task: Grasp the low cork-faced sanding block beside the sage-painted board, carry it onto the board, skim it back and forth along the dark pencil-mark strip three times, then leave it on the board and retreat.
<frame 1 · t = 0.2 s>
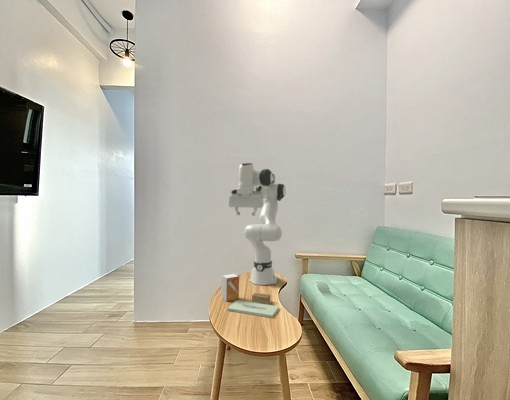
hand: (245, 215, 169), 47 cm above the table, fingers open, 8 cm apart
small box: (230, 298, 167), on the table
board: (253, 309, 152), on the table
sanding block: (261, 302, 163), on the table
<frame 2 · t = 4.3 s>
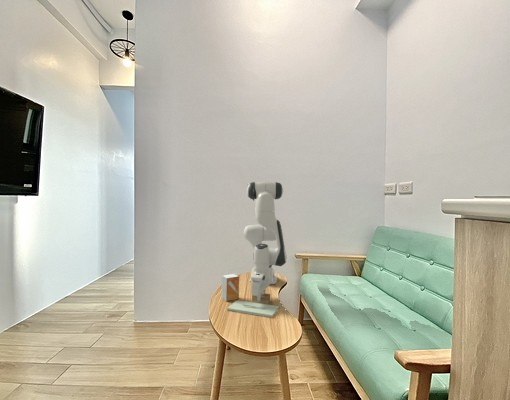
hand: (261, 298, 163), 2 cm above the table, fingers closed on sanding block, 5 cm apart
sanding block: (261, 301, 163), on the table, touching gripper
everything else where it was.
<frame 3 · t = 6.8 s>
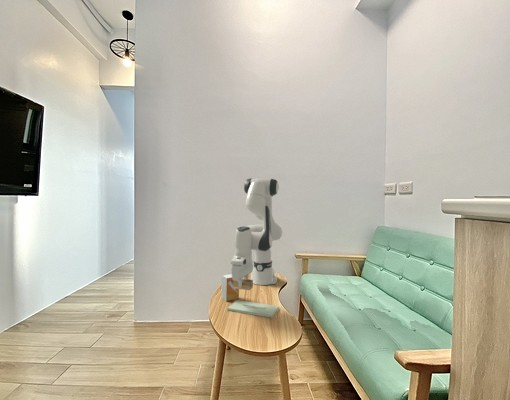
hand: (242, 284, 153), 12 cm above the table, fingers closed on sanding block, 5 cm apart
sanding block: (243, 287, 153), point 11 cm above the table, touching gripper
everything else where it was.
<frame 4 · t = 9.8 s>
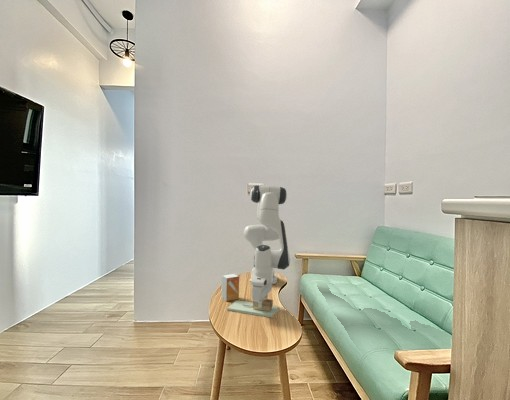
hand: (262, 304, 150), 3 cm above the table, fingers closed on sanding block, 5 cm apart
sanding block: (262, 308, 150), point 2 cm above the table, touching gripper
everything else where it was.
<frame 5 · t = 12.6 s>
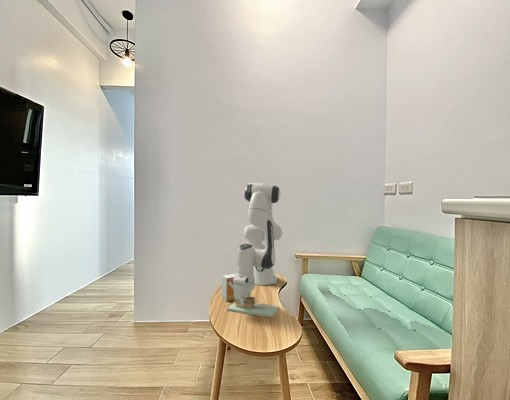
hand: (245, 302, 153), 3 cm above the table, fingers closed on sanding block, 5 cm apart
sanding block: (245, 305, 153), point 1 cm above the table, touching gripper
everything else where it was.
when the fingers open (3 cm above the table, at t = 15.4 s): sanding block stays where it is, resting on board.
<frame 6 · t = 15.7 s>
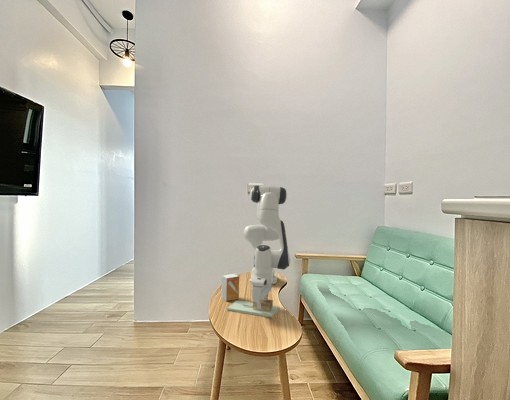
hand: (262, 304, 150), 3 cm above the table, fingers open, 8 cm apart
sanding block: (262, 308, 150), point 1 cm above the table, touching board
everything else where it was.
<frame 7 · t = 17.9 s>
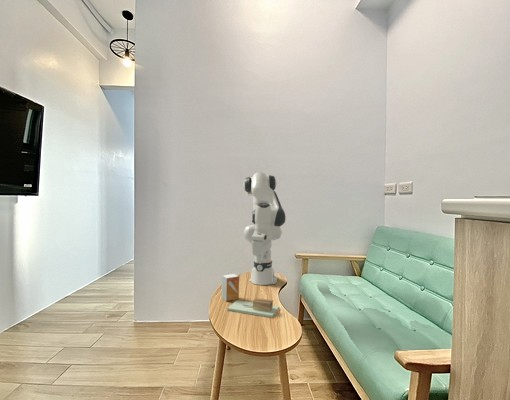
hand: (262, 260, 155), 25 cm above the table, fingers open, 8 cm apart
nothing on the table moved.
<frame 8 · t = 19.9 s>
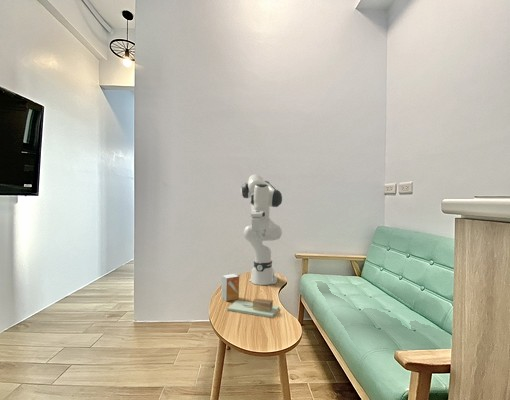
hand: (261, 237, 164), 35 cm above the table, fingers open, 8 cm apart
nothing on the table moved.
at the end: sanding block inside the target area on the board (5.0 cm from its centre), point 1.3 cm above the board's base; sanding block tilted 0°; the gripper is holding nothing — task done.
